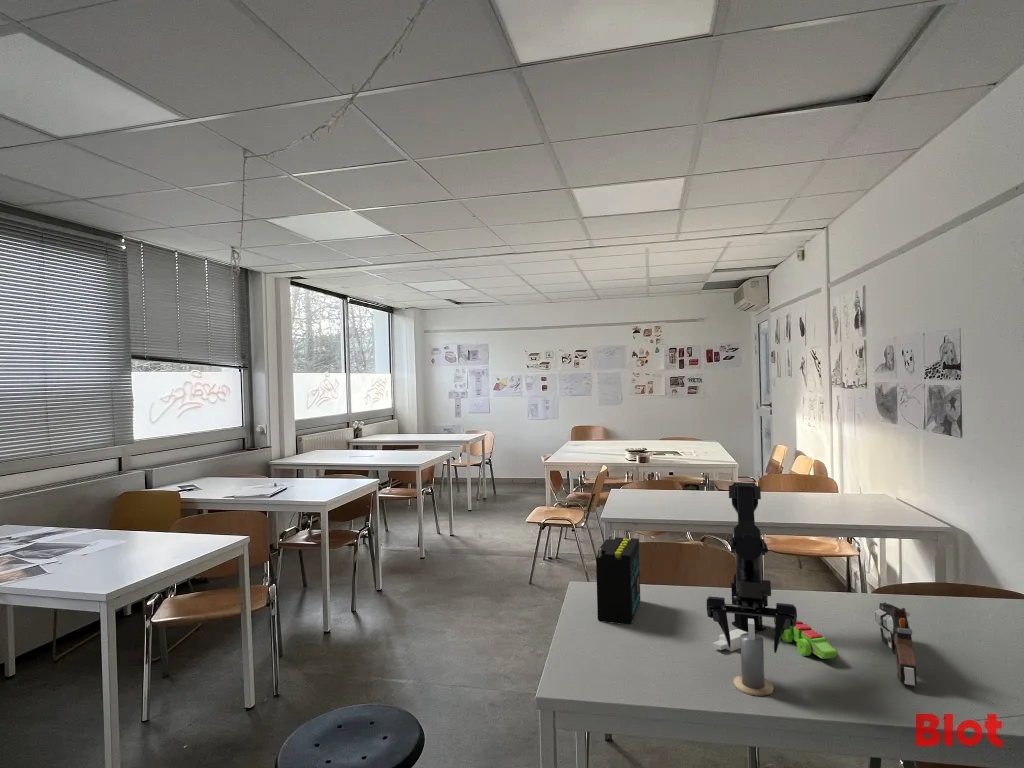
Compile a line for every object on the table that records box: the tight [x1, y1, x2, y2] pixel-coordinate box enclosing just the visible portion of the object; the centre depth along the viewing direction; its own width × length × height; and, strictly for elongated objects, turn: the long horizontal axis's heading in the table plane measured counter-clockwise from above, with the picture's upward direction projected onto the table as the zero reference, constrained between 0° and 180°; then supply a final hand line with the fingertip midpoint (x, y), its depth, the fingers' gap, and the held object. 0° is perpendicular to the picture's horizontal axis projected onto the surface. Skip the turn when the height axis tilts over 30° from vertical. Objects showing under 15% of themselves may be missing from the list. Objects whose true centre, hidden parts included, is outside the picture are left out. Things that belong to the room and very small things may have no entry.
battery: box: [595, 534, 641, 625], centre depth 171 cm, size 19×10×20 cm, turn 160°
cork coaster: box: [733, 674, 775, 697], centre depth 125 cm, size 8×8×1 cm
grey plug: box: [740, 618, 765, 689], centre depth 126 cm, size 5×5×14 cm
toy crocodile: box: [773, 618, 839, 660], centre depth 144 cm, size 20×7×6 cm, turn 6°
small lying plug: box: [712, 628, 748, 652], centre depth 145 cm, size 10×4×3 cm, turn 120°
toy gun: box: [873, 601, 917, 686], centre depth 136 cm, size 5×28×15 cm, turn 156°
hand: (752, 649), depth 125 cm, fingers open, 9 cm apart
